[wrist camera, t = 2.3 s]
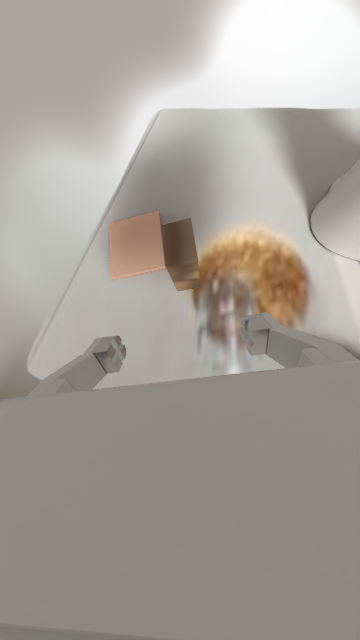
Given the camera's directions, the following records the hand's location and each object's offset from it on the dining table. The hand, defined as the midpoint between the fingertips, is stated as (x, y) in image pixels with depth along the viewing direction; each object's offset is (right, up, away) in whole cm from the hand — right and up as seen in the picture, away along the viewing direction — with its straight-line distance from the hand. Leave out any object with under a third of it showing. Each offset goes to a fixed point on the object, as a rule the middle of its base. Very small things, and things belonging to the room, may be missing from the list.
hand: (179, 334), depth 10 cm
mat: (-10, +17, +24) cm, 31 cm away
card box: (+1, +10, +20) cm, 23 cm away
